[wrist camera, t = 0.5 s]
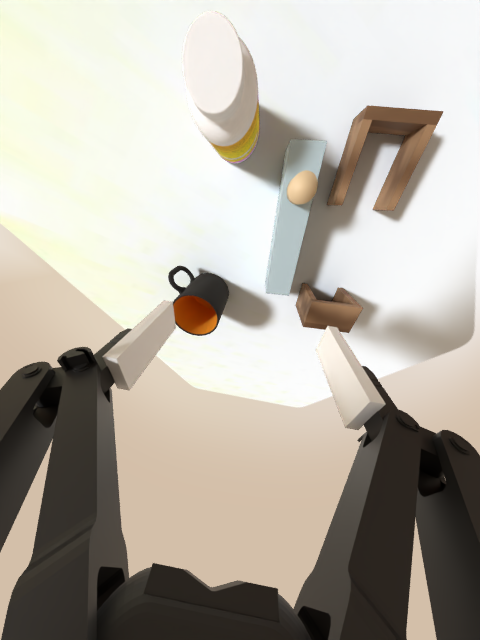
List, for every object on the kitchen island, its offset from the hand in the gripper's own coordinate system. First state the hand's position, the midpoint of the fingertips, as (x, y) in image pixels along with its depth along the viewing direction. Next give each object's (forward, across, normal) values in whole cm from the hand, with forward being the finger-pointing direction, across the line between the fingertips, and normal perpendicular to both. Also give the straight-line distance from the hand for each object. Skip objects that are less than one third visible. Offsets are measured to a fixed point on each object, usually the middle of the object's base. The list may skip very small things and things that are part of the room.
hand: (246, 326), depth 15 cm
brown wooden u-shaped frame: (+21, +14, +15) cm, 29 cm away
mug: (+22, -10, -6) cm, 25 cm away
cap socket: (+22, +14, -5) cm, 26 cm away
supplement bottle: (+22, -6, +17) cm, 28 cm away
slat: (+22, +4, +6) cm, 23 cm away
